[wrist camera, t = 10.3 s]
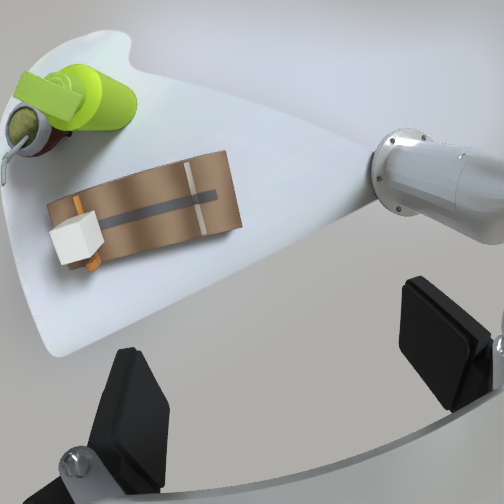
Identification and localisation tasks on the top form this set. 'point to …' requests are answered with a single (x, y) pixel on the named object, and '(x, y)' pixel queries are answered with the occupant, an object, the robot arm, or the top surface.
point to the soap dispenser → (78, 99)
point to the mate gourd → (29, 134)
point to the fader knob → (77, 238)
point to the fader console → (156, 207)
